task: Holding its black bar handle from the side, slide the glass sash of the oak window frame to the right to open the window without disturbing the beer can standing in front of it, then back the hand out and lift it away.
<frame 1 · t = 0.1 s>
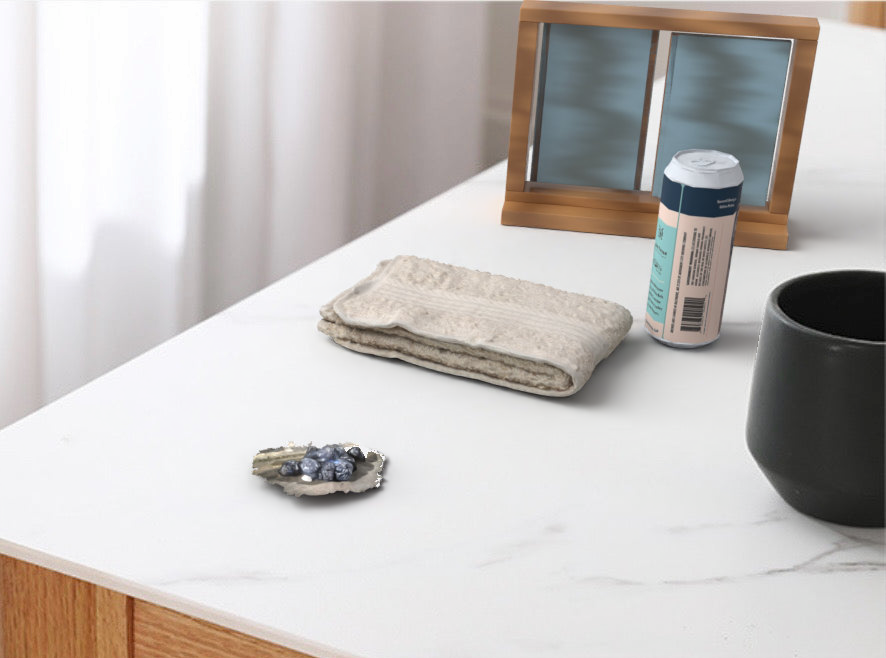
washcloth: (473, 343, 101), on the table
window frame: (641, 221, 120), on the table
blueberries: (322, 475, 85), on the table
beer can: (680, 339, 102), on the table
window sash: (594, 98, 120), point 9 cm above the table, slide at 0.0 cm
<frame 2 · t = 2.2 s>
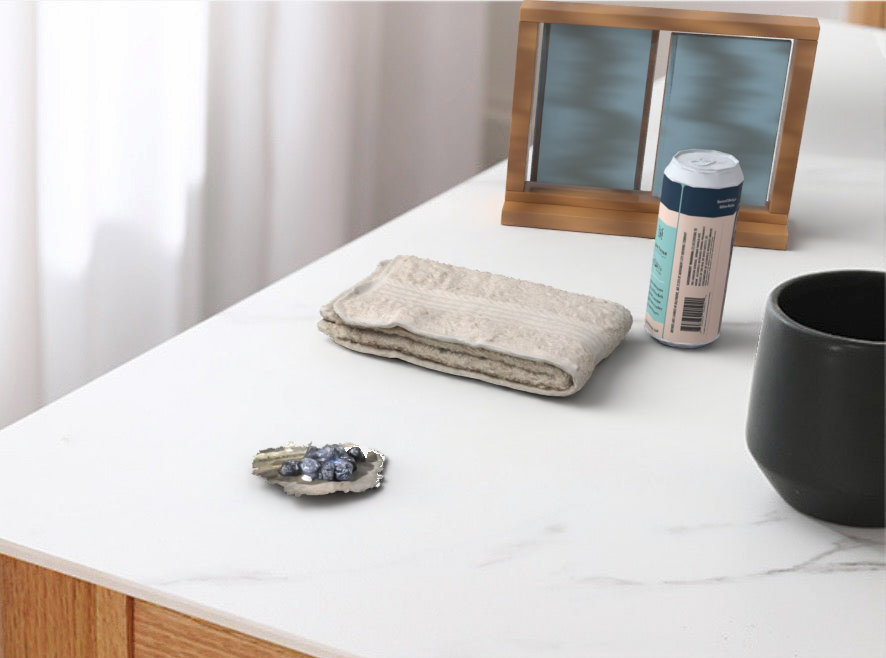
nothing on the table moved.
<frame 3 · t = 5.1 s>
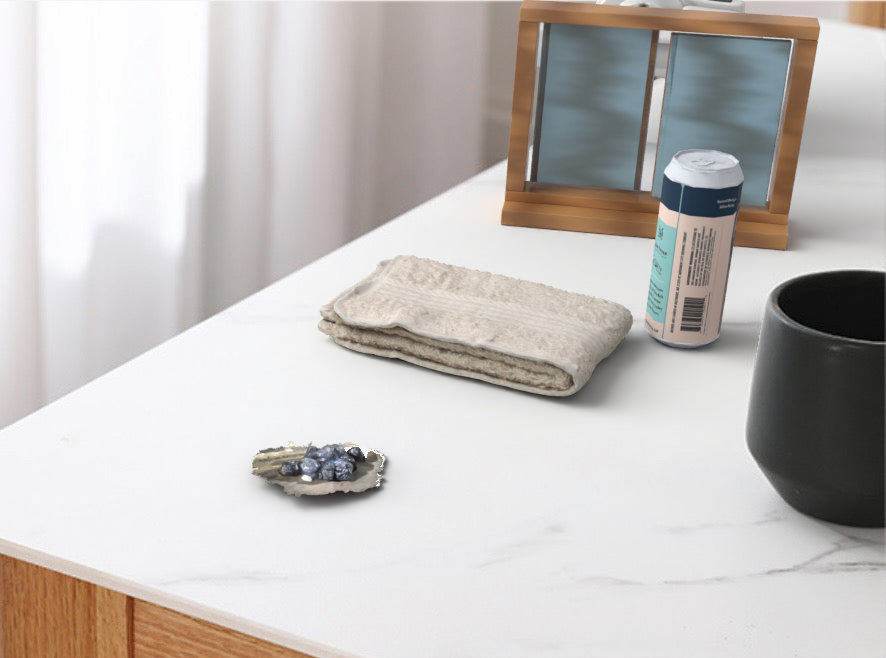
hand: (636, 69, 127), 8 cm above the table, tool horizontal, fingers open, 8 cm apart
nothing on the table moved.
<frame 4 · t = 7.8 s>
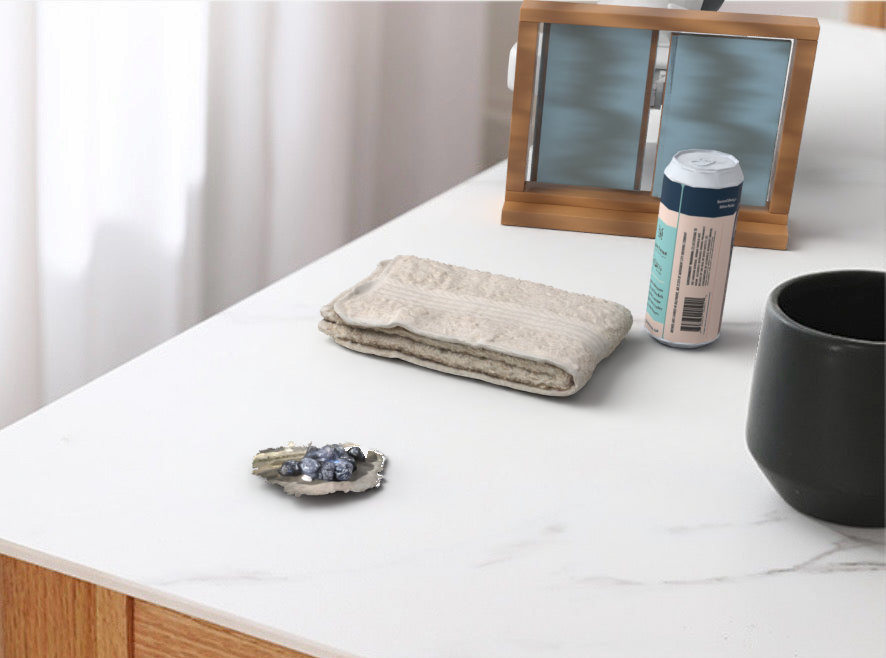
hand: (632, 97, 120), 9 cm above the table, tool horizontal, fingers closed on window sash, 2 cm apart
window sash: (594, 98, 120), point 9 cm above the table, slide at 0.0 cm, touching gripper
everything else where it was.
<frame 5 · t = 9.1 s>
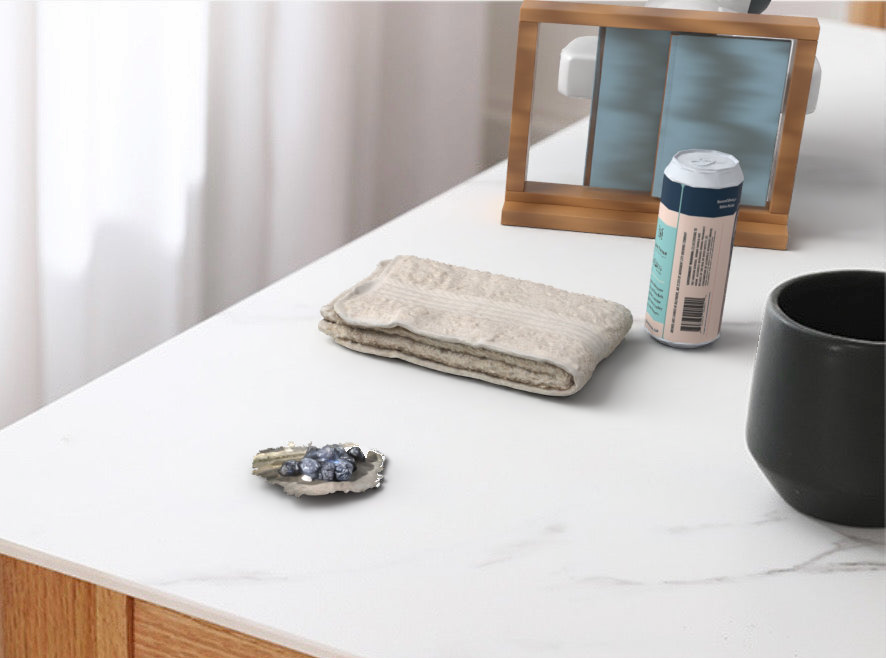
hand: (686, 101, 119), 9 cm above the table, tool horizontal, fingers closed on window sash, 2 cm apart
window sash: (648, 102, 119), point 9 cm above the table, slide at 4.0 cm, touching gripper
everything else where it was.
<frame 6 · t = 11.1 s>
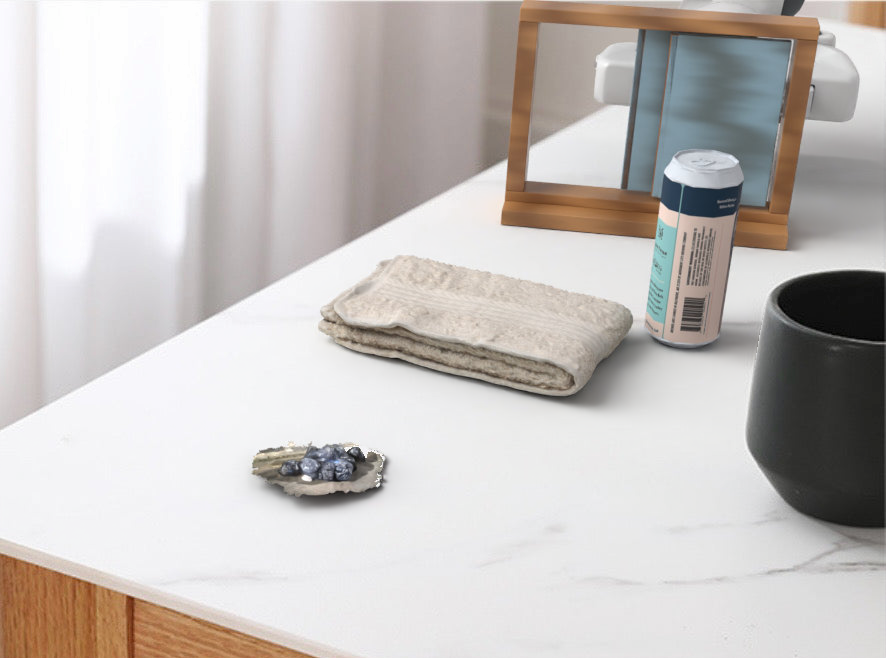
hand: (725, 109, 119), 8 cm above the table, tool horizontal, fingers open, 8 cm apart
window sash: (686, 105, 119), point 9 cm above the table, slide at 6.9 cm
everything else where it was.
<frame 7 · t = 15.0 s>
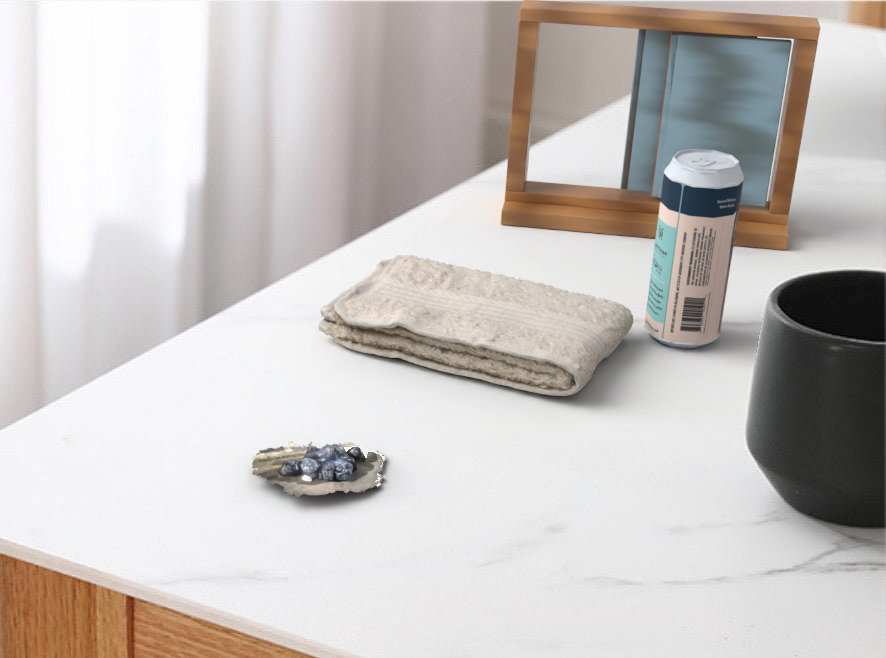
nothing on the table moved.
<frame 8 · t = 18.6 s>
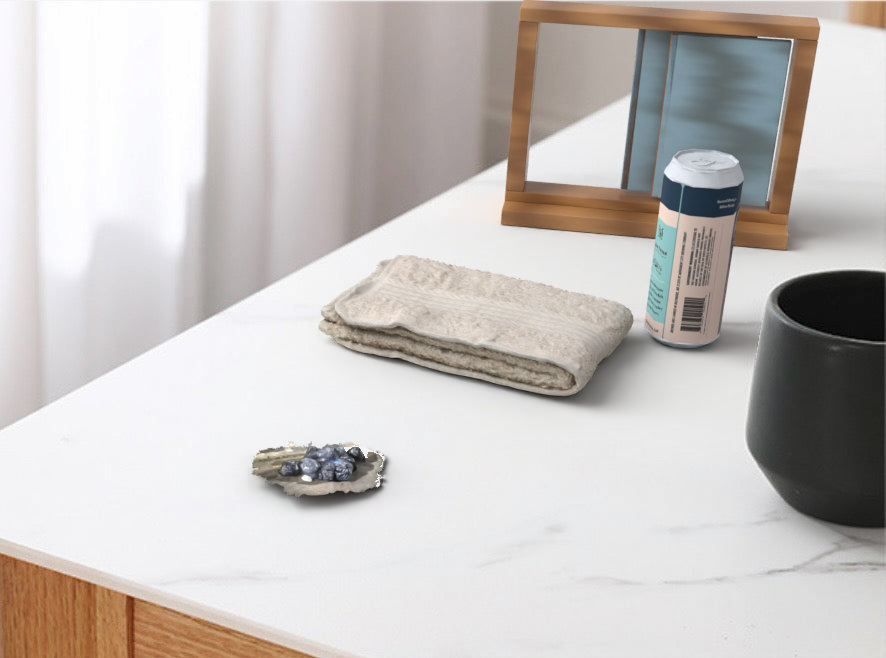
nothing on the table moved.
at the end: window sash slide at 6.9 cm; beer can moved 0.2 cm from its start; beer can tilted 0° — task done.
